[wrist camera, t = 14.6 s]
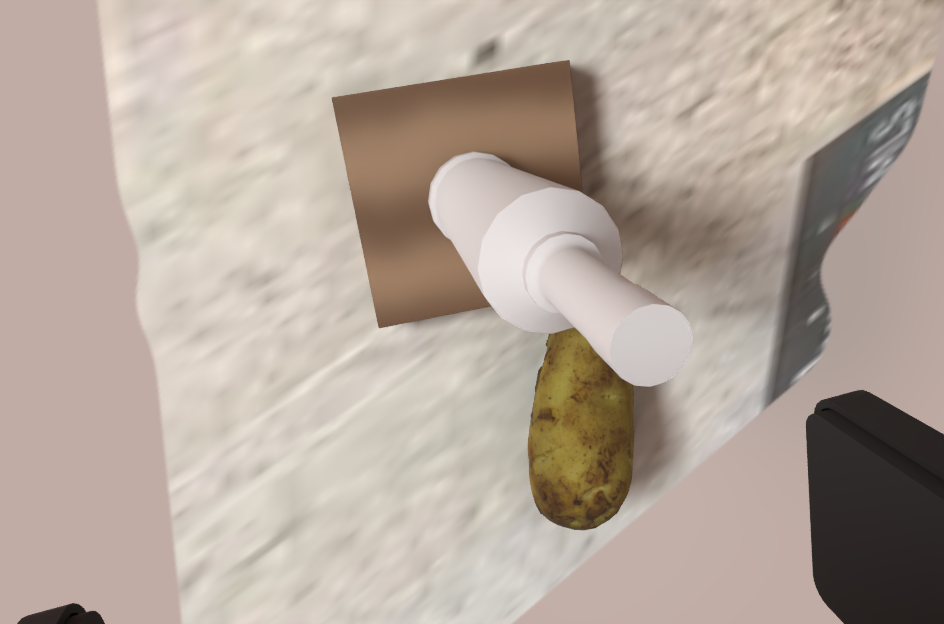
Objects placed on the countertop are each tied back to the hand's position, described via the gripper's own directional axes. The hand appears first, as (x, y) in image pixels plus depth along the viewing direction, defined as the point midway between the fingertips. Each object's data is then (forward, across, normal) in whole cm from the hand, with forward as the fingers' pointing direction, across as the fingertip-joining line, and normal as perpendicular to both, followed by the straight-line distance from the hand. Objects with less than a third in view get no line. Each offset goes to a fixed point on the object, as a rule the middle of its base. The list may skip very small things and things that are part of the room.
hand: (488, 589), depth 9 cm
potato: (+35, -10, +16) cm, 40 cm away
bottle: (+32, -5, 0) cm, 33 cm away
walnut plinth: (+35, -5, 0) cm, 35 cm away
